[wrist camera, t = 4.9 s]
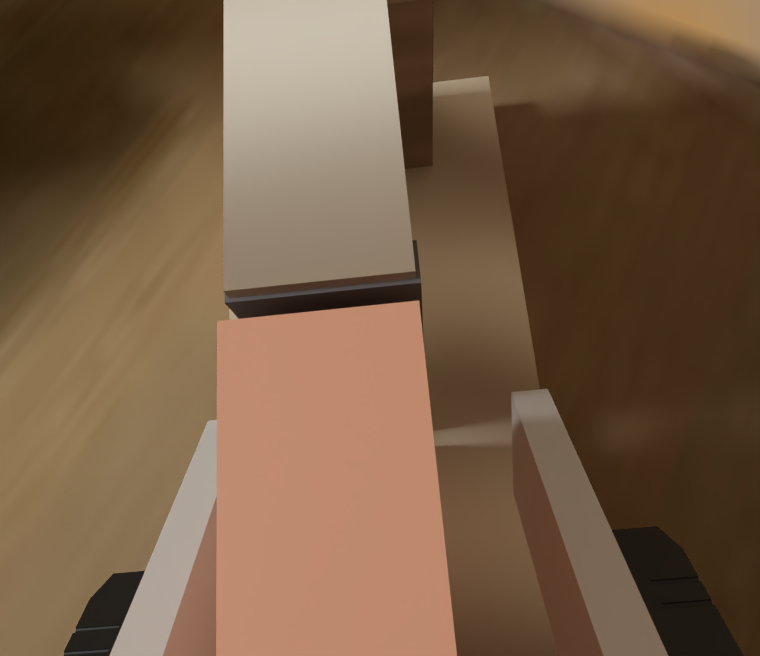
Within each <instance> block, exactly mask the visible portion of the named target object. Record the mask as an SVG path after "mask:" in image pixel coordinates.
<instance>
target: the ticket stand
mask: <svg viewBox="0 0 760 656" xmlns="http://www.w3.org/2000/svg"><path fill="white" fill-rule="evenodd" d="M224 292H225V304H226V305H227V306H228V307H229V308H230V320H233V319H243V318H253V317H262V316H272V315H282V314H292V313H301V312H311V311H321V310H331V309H340V308H350V307H360V306H370V305H380V304H389V303H399V302H409V301H419V304H420V314H421V323H422V332H423V342H424V351H425V360H426V370H427V379H428V389H429V398H430V407H431V417H432V426H433V435H434V445H435V454H436V464H437V473H438V482H439V492H440V501H441V510H442V520H443V529H444V538H445V548H446V557H447V567H448V576H449V585H450V595H451V604H452V613H453V623H454V632H455V641H456V651H457V656H559V654H558V650H557V647H556V643H555V639H554V636H553V632H552V629H551V625H550V622H549V618H548V615H547V611H546V607H545V604H544V600H543V597H542V593H541V590H540V586H539V583H538V579H537V575H536V572H535V568H534V565H533V561H532V558H531V554H530V551H529V547H528V543H527V540H526V536H525V533H524V529H523V526H522V522H521V518H520V515H519V511H518V508H517V504H516V501H515V497H514V494H513V452H512V408H511V392H517V391H528V390H538V389H540V386H539V380H538V374H537V368H536V362H535V356H534V350H533V344H532V338H531V332H530V325H529V319H528V313H527V307H526V301H525V295H524V289H523V283H522V277H521V271H520V265H519V259H518V253H517V247H516V241H515V234H514V228H513V222H512V216H511V210H510V204H509V198H508V192H507V186H506V180H505V174H504V168H503V162H502V156H501V150H500V143H499V137H498V131H497V125H496V119H495V113H494V107H493V101H492V95H491V89H490V83H489V77H488V76H483V77H475V78H467V79H458V80H450V81H441V82H433V0H224Z"/></svg>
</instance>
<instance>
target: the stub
mask: <svg viewBox="0 0 760 656" xmlns="http://www.w3.org/2000/svg"><path fill="white" fill-rule="evenodd" d="M216 656H457V651H456V641H455V632H454V623H453V613H452V604H451V595H450V585H449V576H448V567H447V557H446V548H445V538H444V529H443V520H442V510H441V501H440V492H439V482H438V473H437V464H436V454H435V445H434V435H433V426H432V417H431V407H430V398H429V389H428V379H427V370H426V360H425V351H424V342H423V332H422V323H421V314H420V304H419V301H409V302H399V303H389V304H380V305H370V306H360V307H350V308H340V309H331V310H321V311H311V312H301V313H292V314H282V315H272V316H262V317H253V318H243V319H233V320H223V321H217V541H216Z"/></svg>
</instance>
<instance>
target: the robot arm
mask: <svg viewBox="0 0 760 656" xmlns="http://www.w3.org/2000/svg"><path fill="white" fill-rule="evenodd" d="M511 408H512V452H513V494H514V497H515V501H516V504H517V508H518V511H519V515H520V518H521V522H522V526H523V529H524V533H525V536H526V540H527V543H528V547H529V551H530V554H531V558H532V561H533V565H534V568H535V572H536V575H537V579H538V583H539V586H540V590H541V593H542V597H543V600H544V604H545V607H546V611H547V615H548V618H549V622H550V625H551V629H552V632H553V636H554V639H555V643H556V647H557V650H558V654H559V656H743V654H742V652H741V651H740V649H739V647H738V645H737V644H736V642H735V640H734V638H733V637H732V635H731V633H730V631H729V630H728V628H727V626H726V624H725V623H724V621H723V619H722V617H721V616H720V614H719V612H718V610H717V608H716V607H715V605H712V602H711V598H710V596H709V594H708V593H707V591H706V589H705V587H704V586H703V584H702V582H699V579H698V575H697V573H696V572H695V570H694V568H693V566H692V564H691V563H690V561H689V559H688V557H687V556H686V554H685V552H684V550H683V549H682V548H681V547H680V546H679V545H678V544H676V543H675V542H674V541H673V540H672V539H671V538H670V537H668V536H667V535H666V534H665V533H664V532H663V531H661V530H660V529H659V528H658V527H657V526H656V527H644V528H632V529H620V530H611V528H610V526H609V523H608V521H607V519H606V517H605V515H604V512H603V510H602V508H601V506H600V504H599V501H598V499H597V497H596V495H595V492H594V490H593V488H592V486H591V484H590V481H589V479H588V477H587V475H586V472H585V470H584V468H583V466H582V464H581V461H580V459H579V457H578V455H577V453H576V450H575V448H574V446H573V444H572V441H571V439H570V437H569V435H568V433H567V430H566V428H565V426H564V424H563V421H562V419H561V417H560V415H559V413H558V410H557V408H556V406H555V404H554V402H553V399H552V397H551V395H550V393H549V390H548V389H538V390H528V391H517V392H511ZM216 541H217V420H211V421H208V422H207V425H206V427H205V429H204V432H203V434H202V437H201V439H200V441H199V444H198V446H197V448H196V451H195V453H194V456H193V458H192V460H191V463H190V465H189V468H188V470H187V472H186V475H185V477H184V479H183V482H182V484H181V487H180V489H179V491H178V494H177V496H176V498H175V501H174V503H173V506H172V508H171V510H170V513H169V515H168V517H167V520H166V522H165V525H164V527H163V529H162V532H161V534H160V537H159V539H158V541H157V544H156V546H155V548H154V551H153V553H152V556H151V558H150V560H149V563H148V565H147V567H146V570H145V571H140V572H128V573H116V574H113V575H112V576H111V577H110V578H109V579H108V580H107V581H106V582H105V583H104V584H103V586H102V587H101V588H100V589H99V590H98V591H97V592H96V593H95V594H94V595H93V596H92V597H91V598H90V600H89V602H88V604H87V606H86V608H85V610H84V612H83V614H82V616H81V618H80V620H79V622H78V624H77V626H76V632H75V633H73V634H72V636H71V638H70V640H69V642H68V644H67V646H66V648H65V650H64V656H216Z"/></svg>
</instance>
